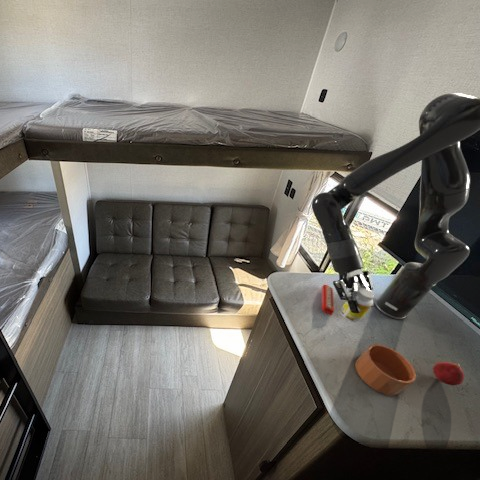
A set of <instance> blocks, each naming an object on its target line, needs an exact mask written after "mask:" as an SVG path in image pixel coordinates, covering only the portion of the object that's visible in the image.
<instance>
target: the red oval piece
mask: <svg viewBox="0 0 480 480" xmlns="http://www.w3.org/2000/svg"><path fill="white" fill-rule="evenodd" d="M432 371H433V372H432V373H433V375H434V377H435V378H436V380H438V381H439V382H441V383H443V384H446V385H448V386H459V385H461V384H462V383H463V382H464V380H465V372H464V371H463V369H462V368H461V365H460V364H459V362H458V363H453V362H449V361H440V362H437V363H435V364H434V366H433V367H432Z"/></svg>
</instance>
